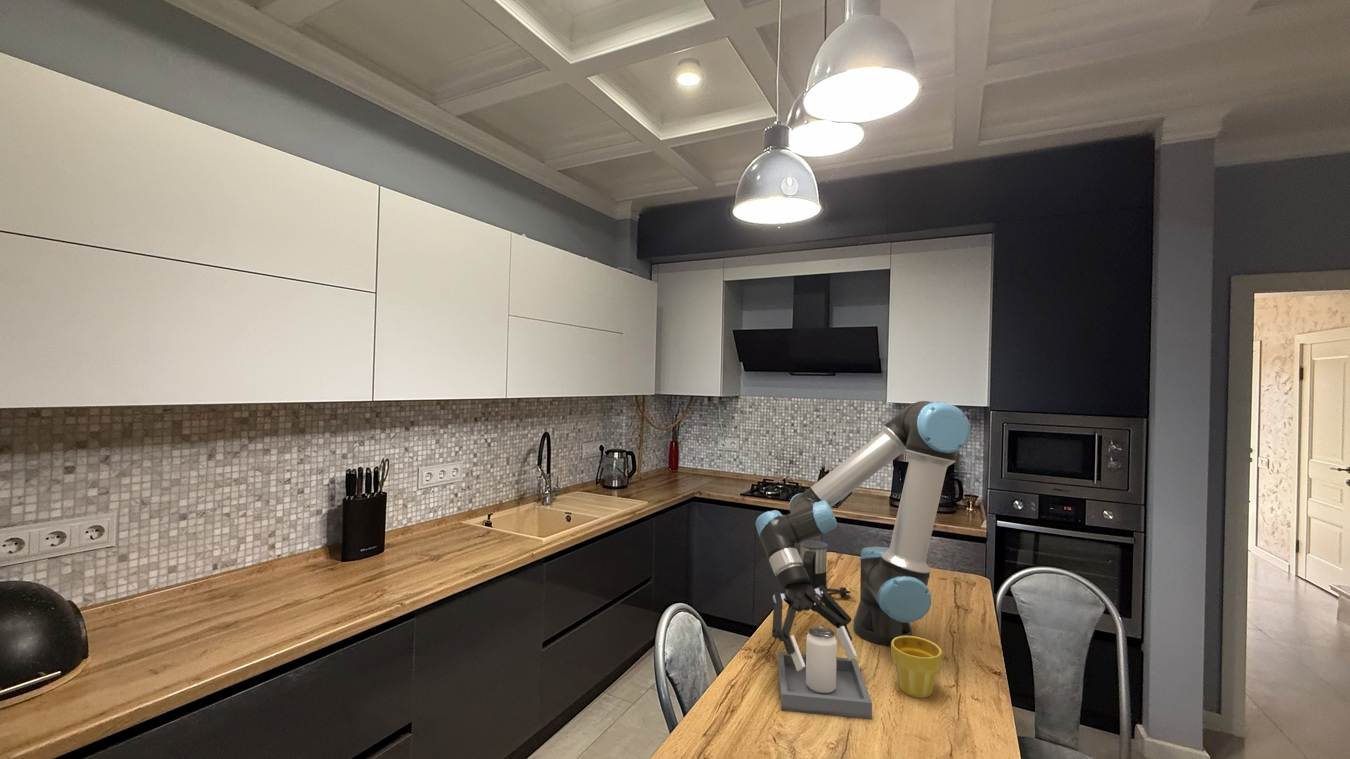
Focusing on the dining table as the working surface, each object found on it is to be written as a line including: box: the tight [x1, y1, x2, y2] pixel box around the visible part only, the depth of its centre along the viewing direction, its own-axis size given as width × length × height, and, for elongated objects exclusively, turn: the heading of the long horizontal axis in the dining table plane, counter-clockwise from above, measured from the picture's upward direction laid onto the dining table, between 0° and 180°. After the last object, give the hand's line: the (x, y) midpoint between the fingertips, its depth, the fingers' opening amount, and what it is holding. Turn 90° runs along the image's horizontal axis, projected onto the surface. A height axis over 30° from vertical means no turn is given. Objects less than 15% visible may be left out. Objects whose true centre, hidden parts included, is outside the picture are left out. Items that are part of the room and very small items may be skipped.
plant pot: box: [890, 635, 943, 699], centre depth 122 cm, size 10×10×10 cm
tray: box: [777, 651, 873, 720], centre depth 121 cm, size 18×18×3 cm
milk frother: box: [799, 539, 851, 597], centre depth 179 cm, size 14×16×15 cm
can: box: [805, 626, 837, 694], centre depth 121 cm, size 6×6×12 cm
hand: (827, 663), depth 119 cm, fingers open, 13 cm apart
